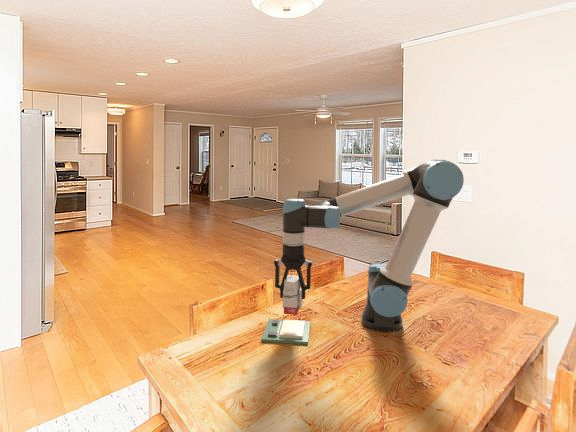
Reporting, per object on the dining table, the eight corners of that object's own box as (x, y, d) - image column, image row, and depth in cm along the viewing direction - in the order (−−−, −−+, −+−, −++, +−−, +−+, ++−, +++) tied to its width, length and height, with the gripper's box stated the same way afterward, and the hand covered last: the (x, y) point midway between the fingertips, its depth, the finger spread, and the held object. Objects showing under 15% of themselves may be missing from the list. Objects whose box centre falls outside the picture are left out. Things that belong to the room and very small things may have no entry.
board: (310, 323, 145) (310, 318, 145) (307, 344, 129) (307, 339, 129) (268, 321, 147) (268, 316, 146) (261, 341, 131) (261, 336, 131)
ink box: (297, 315, 132) (297, 282, 130) (283, 314, 133) (283, 281, 131) (301, 305, 140) (301, 275, 138) (288, 304, 141) (288, 274, 139)
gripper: (320, 241, 135) (318, 304, 139) (269, 239, 137) (269, 301, 141) (319, 247, 127) (317, 312, 131) (265, 245, 129) (265, 309, 133)
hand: (292, 306), depth 136 cm, fingers closed on ink box, 5 cm apart
